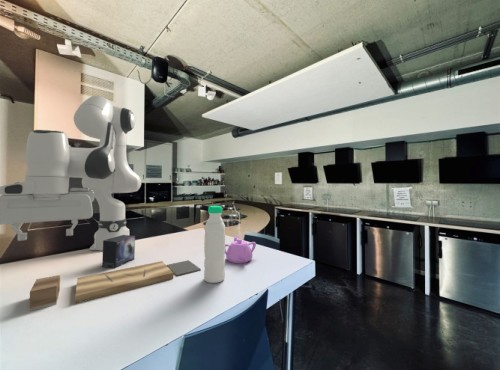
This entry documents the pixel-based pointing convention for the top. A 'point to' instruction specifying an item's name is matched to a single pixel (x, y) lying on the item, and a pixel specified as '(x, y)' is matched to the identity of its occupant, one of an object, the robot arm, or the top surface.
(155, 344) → the top surface
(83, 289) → the oak board
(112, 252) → the small box
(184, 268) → the rubber mat
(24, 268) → the top surface
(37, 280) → the block
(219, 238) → the water bottle
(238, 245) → the teapot
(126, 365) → the top surface
